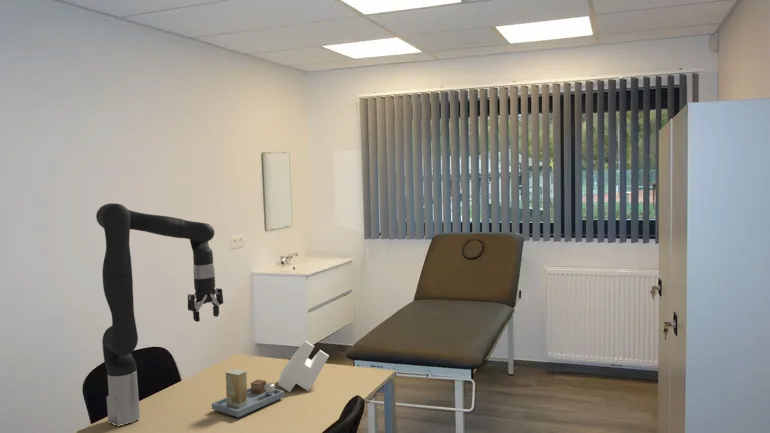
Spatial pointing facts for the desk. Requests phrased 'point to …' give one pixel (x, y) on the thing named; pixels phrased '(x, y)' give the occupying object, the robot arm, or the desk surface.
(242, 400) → the skincare box
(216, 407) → the blue-grey serving tray
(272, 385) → the chrome dome knob
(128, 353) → the robot arm
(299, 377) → the slotted wedge
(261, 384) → the walnut block
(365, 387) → the desk surface
